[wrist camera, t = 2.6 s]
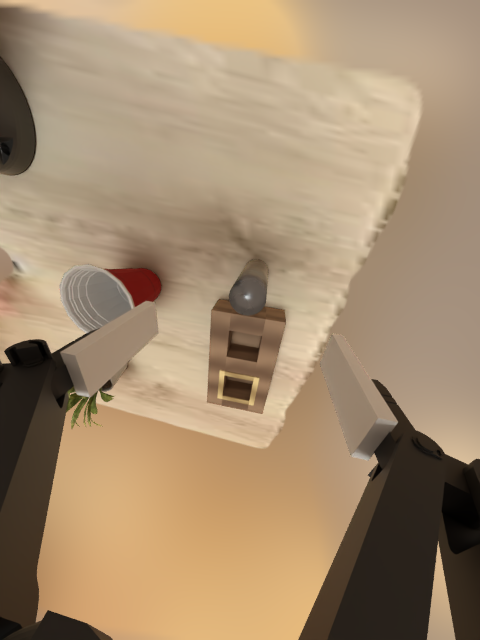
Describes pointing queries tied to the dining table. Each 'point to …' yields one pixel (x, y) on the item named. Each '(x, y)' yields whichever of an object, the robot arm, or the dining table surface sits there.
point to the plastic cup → (105, 293)
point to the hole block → (243, 356)
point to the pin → (250, 289)
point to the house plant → (92, 398)
